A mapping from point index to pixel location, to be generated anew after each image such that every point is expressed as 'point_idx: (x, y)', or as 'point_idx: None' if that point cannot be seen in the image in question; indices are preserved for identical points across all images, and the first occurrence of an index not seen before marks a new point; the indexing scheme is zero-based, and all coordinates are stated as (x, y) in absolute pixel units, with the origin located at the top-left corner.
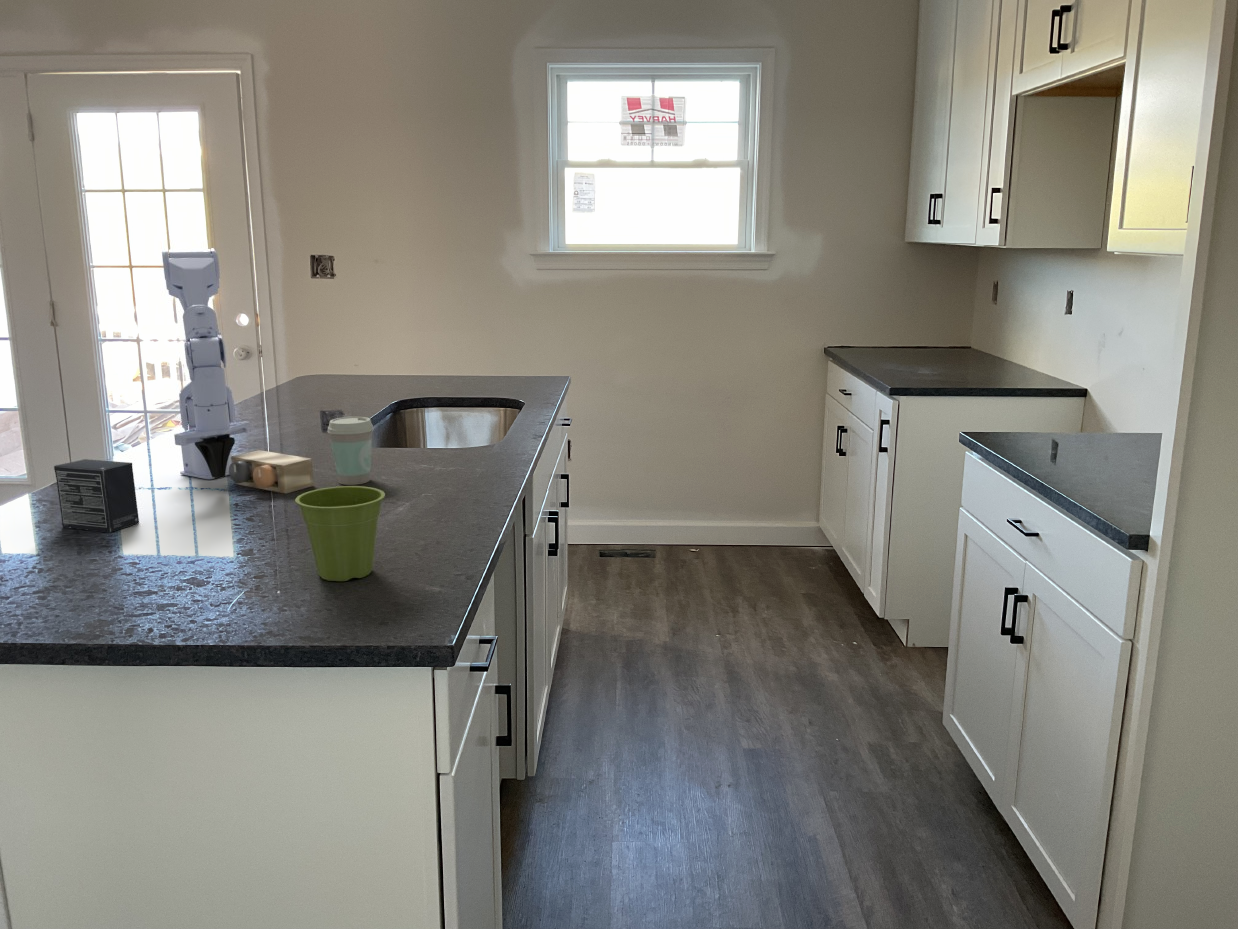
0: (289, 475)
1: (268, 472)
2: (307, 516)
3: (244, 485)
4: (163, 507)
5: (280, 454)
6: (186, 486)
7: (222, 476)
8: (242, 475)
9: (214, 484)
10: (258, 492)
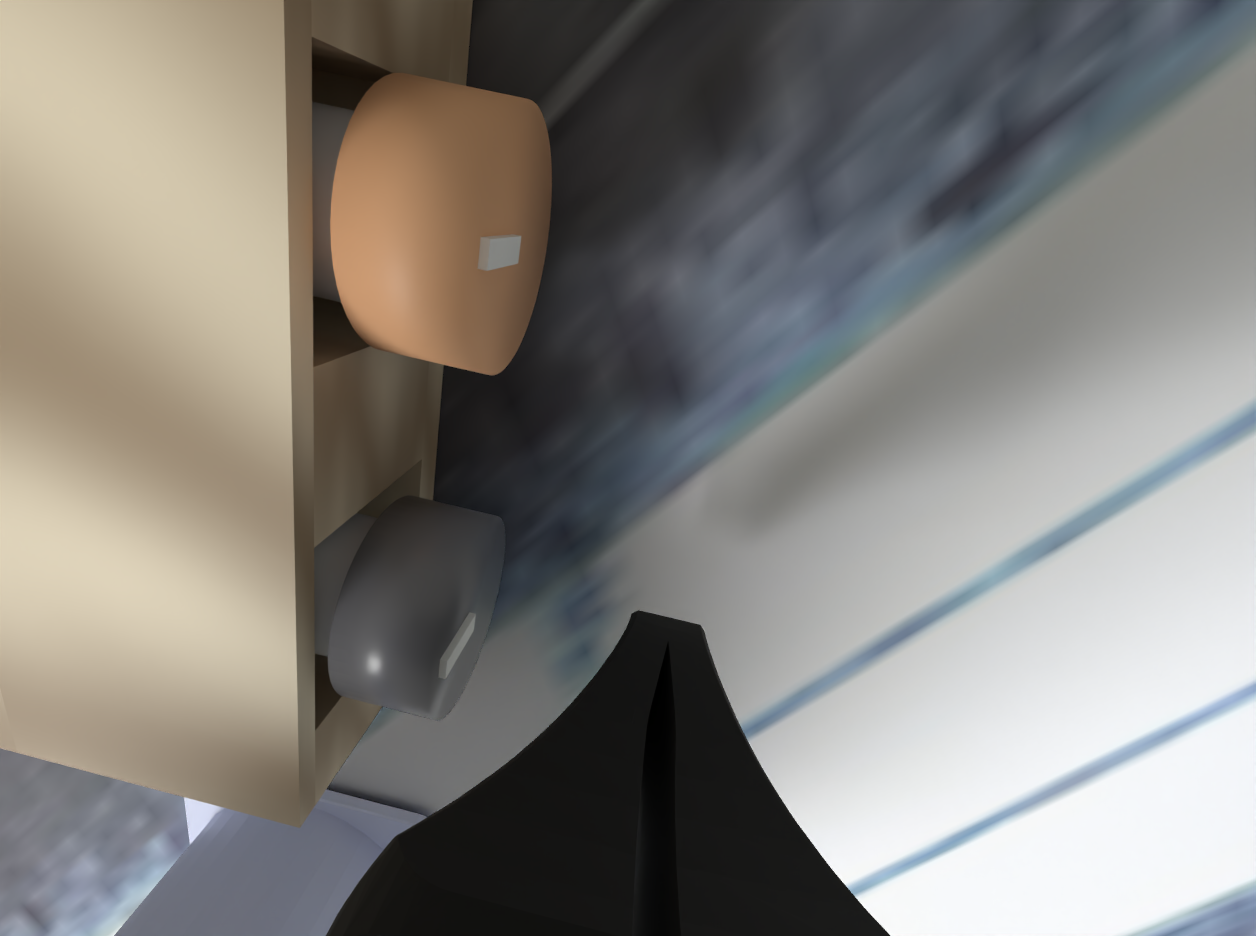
0: None
1: (462, 105)
2: None
3: None
4: (1137, 696)
5: None
6: None
7: (662, 621)
8: (486, 525)
9: (492, 740)
10: (541, 299)
